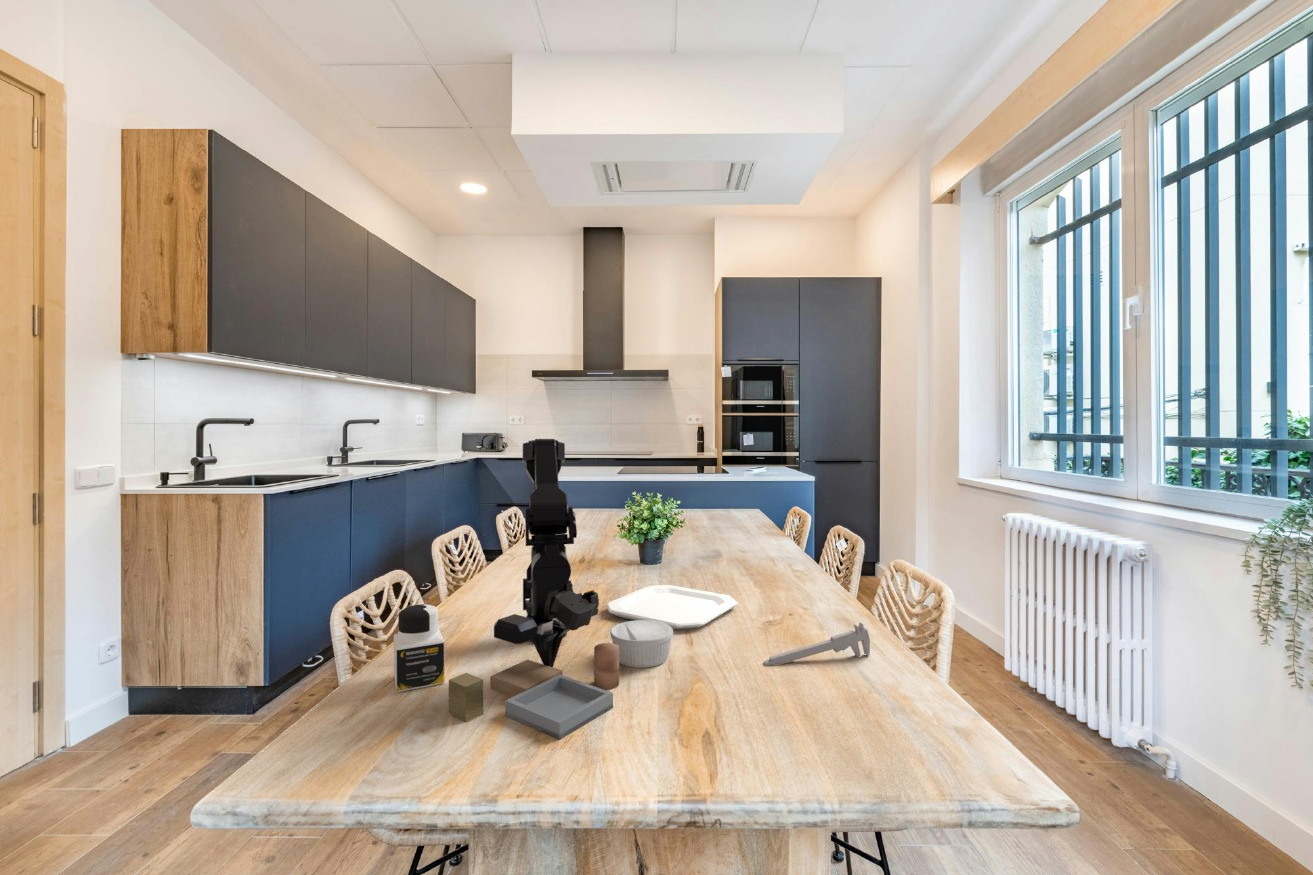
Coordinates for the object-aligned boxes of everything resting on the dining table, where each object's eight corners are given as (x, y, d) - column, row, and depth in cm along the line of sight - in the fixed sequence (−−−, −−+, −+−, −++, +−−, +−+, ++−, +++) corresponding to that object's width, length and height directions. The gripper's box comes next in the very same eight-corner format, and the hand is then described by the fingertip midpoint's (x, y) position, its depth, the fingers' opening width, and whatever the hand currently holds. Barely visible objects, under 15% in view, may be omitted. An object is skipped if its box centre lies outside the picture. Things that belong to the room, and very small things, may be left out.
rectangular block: (466, 706, 87) (466, 672, 87) (483, 713, 85) (483, 679, 85) (448, 713, 85) (448, 679, 85) (465, 722, 82) (465, 686, 82)
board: (527, 673, 100) (527, 659, 100) (562, 685, 95) (562, 670, 95) (490, 691, 93) (490, 676, 93) (526, 705, 89) (526, 688, 88)
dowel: (605, 676, 97) (605, 641, 97) (624, 683, 95) (624, 646, 95) (589, 685, 94) (589, 648, 94) (607, 692, 92) (607, 654, 92)
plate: (745, 607, 137) (745, 597, 137) (693, 638, 116) (693, 627, 116) (655, 590, 150) (655, 582, 150) (595, 617, 129) (595, 607, 129)
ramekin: (597, 659, 105) (597, 629, 105) (641, 642, 114) (641, 615, 113) (642, 677, 98) (642, 645, 98) (685, 657, 106) (685, 629, 106)
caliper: (866, 655, 108) (866, 621, 108) (869, 657, 107) (870, 623, 106) (762, 665, 103) (762, 629, 103) (765, 667, 102) (765, 631, 102)
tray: (560, 688, 93) (560, 674, 93) (613, 707, 87) (613, 692, 87) (505, 715, 84) (505, 700, 84) (559, 739, 78) (559, 723, 78)
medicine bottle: (396, 693, 91) (396, 617, 91) (393, 676, 98) (393, 604, 97) (444, 684, 95) (444, 610, 94) (438, 668, 101) (438, 598, 101)
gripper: (541, 595, 85) (541, 702, 86) (621, 570, 101) (621, 661, 101) (491, 584, 92) (491, 683, 92) (574, 562, 107) (574, 647, 107)
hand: (548, 668), depth 98 cm, fingers closed
